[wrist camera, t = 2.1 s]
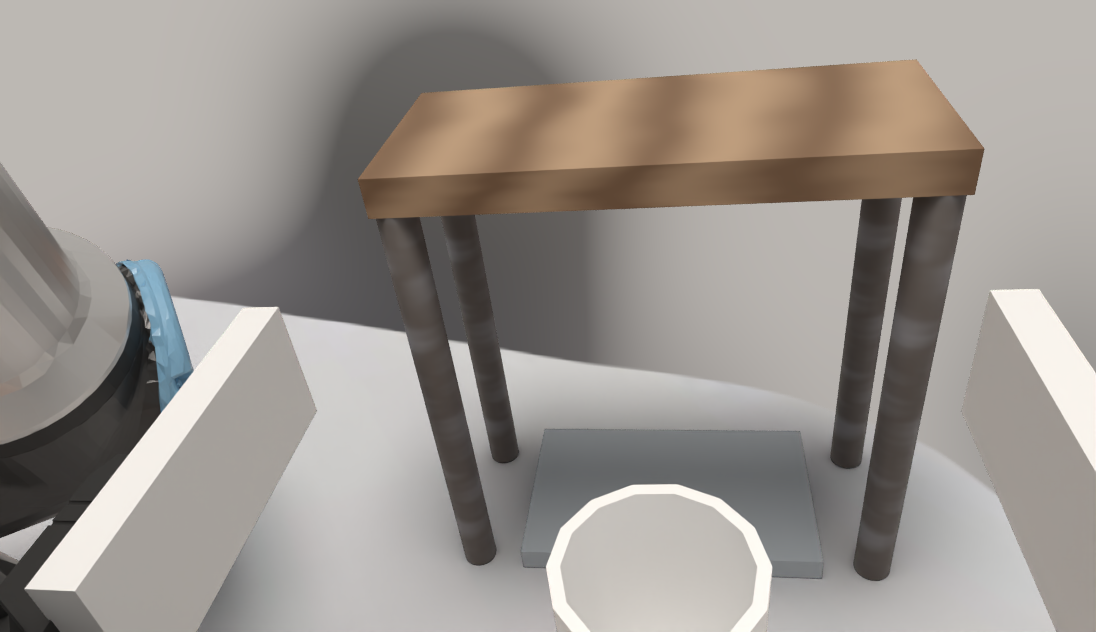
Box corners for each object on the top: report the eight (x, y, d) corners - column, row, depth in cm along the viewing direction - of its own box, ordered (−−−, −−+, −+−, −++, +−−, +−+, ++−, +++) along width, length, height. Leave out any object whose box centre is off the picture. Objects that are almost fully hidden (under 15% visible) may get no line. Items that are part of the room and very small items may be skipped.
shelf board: (523, 567, 50) (520, 551, 49) (546, 443, 59) (544, 429, 58) (821, 578, 47) (823, 562, 46) (798, 446, 56) (800, 431, 55)
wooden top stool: (462, 564, 51) (357, 179, 36) (494, 443, 60) (421, 93, 44) (892, 581, 46) (984, 148, 31) (858, 447, 55) (916, 59, 40)
